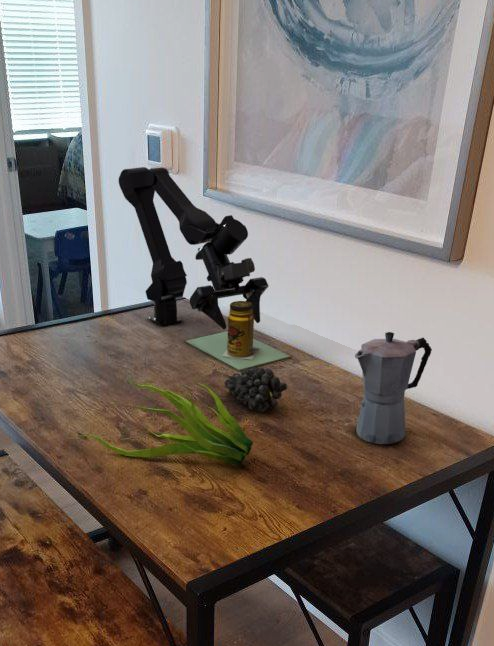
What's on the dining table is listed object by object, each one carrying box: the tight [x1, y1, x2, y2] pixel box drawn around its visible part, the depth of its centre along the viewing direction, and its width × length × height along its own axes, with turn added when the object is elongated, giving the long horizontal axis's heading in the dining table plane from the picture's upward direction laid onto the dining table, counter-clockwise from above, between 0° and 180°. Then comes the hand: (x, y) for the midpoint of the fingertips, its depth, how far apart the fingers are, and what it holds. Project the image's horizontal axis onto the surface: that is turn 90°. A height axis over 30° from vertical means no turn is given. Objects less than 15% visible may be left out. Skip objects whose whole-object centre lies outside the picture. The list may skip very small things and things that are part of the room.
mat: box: [185, 330, 291, 372], centre depth 169 cm, size 22×15×1 cm
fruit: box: [224, 366, 288, 413], centre depth 142 cm, size 9×8×15 cm
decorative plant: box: [65, 365, 254, 468], centre depth 121 cm, size 18×30×15 cm, turn 50°
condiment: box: [222, 300, 260, 360], centre depth 164 cm, size 7×8×12 cm
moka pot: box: [354, 331, 433, 445], centre depth 127 cm, size 10×15×20 cm, turn 113°
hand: (242, 325), depth 162 cm, fingers open, 9 cm apart
